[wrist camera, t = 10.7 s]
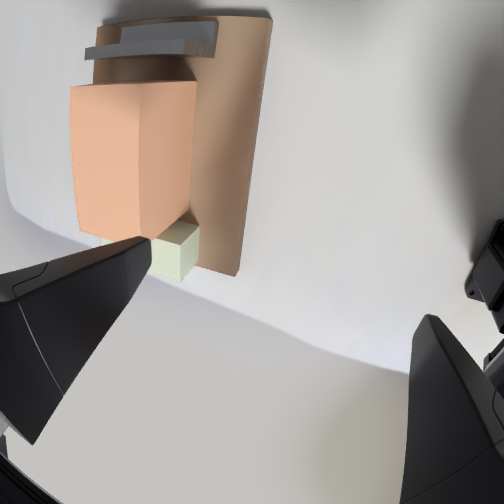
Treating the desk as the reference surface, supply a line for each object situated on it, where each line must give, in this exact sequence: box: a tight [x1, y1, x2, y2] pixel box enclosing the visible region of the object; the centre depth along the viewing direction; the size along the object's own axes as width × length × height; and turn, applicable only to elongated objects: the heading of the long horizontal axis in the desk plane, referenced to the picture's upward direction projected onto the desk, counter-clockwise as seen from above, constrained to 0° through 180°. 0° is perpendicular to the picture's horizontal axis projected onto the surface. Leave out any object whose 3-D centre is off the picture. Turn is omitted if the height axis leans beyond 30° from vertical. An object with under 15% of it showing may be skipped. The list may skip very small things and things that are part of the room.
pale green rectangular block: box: [100, 220, 200, 282], centre depth 23 cm, size 7×3×3 cm, turn 82°
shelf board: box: [93, 16, 273, 277], centre depth 21 cm, size 13×18×1 cm
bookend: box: [85, 21, 219, 60], centre depth 15 cm, size 7×2×4 cm, turn 82°
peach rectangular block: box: [70, 80, 197, 242], centre depth 18 cm, size 5×9×6 cm, turn 173°
